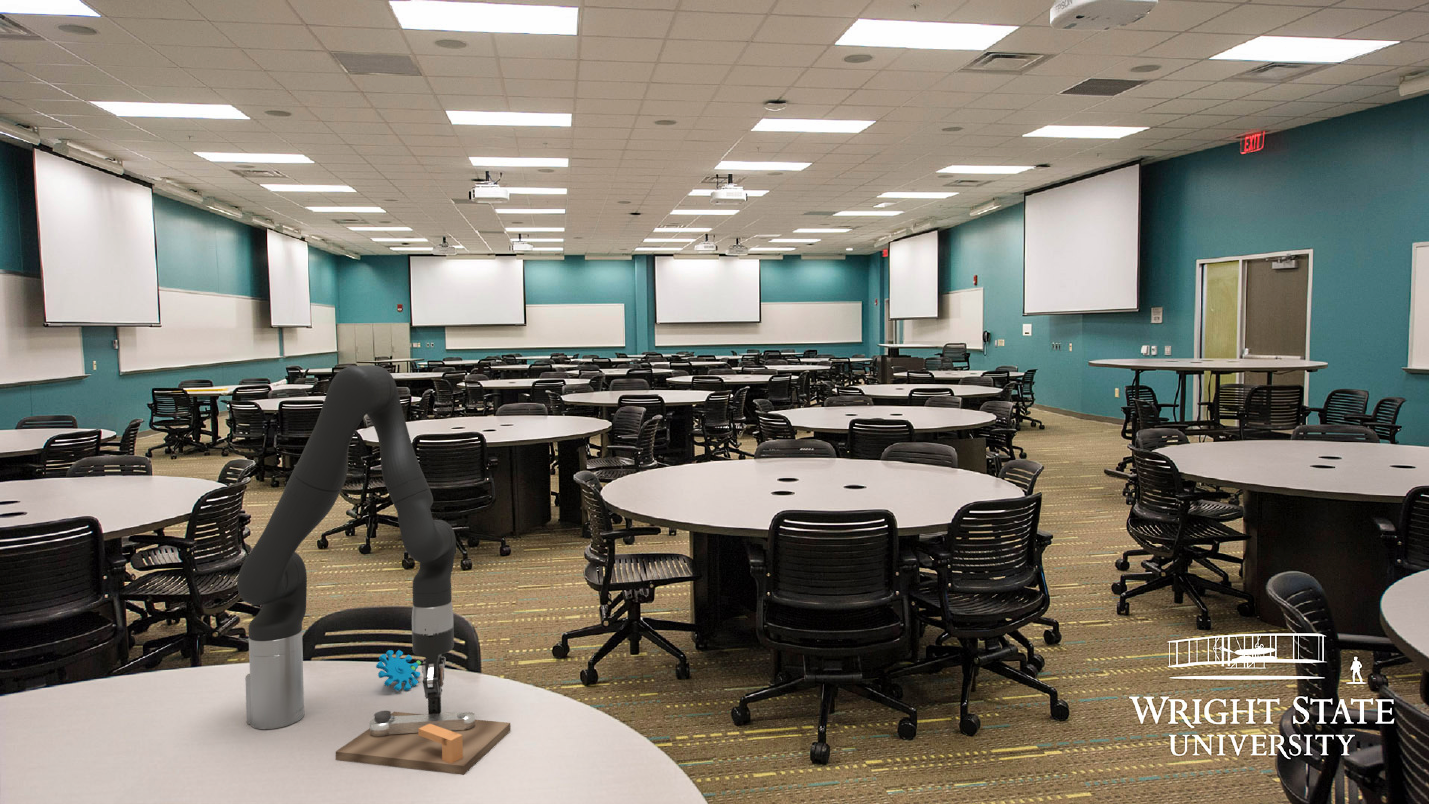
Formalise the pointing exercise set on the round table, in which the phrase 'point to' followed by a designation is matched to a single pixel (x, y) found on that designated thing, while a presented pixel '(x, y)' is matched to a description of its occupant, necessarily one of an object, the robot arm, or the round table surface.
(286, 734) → the round table surface
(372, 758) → the base plate
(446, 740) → the block
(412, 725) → the lever
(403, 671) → the gear
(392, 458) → the robot arm
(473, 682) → the round table surface
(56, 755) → the round table surface
